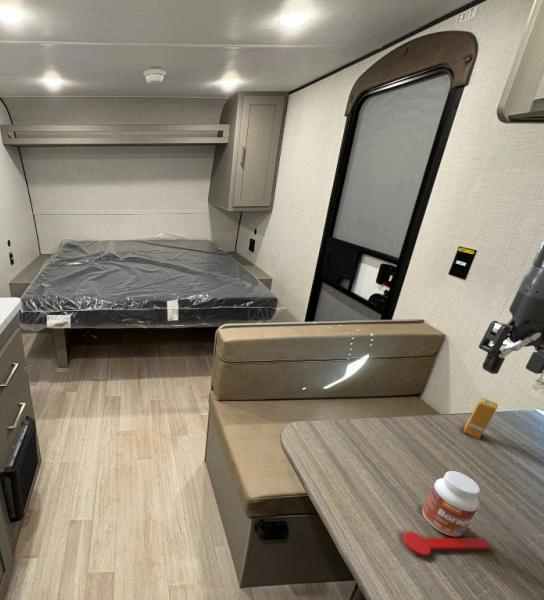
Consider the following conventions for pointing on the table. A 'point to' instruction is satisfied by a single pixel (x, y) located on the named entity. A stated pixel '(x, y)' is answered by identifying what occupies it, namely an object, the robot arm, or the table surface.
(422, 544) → the spoon
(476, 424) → the supplement box
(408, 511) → the table surface
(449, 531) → the pill bottle
